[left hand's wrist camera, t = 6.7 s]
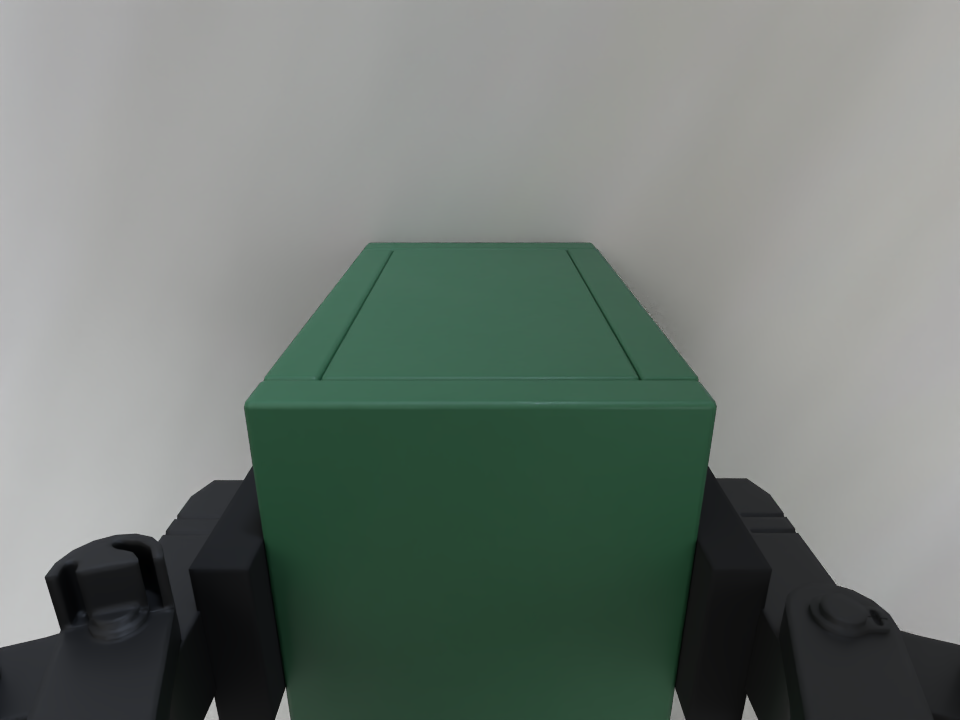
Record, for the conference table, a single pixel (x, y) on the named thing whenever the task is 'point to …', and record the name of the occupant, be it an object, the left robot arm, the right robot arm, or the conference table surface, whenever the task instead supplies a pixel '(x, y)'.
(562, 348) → the cabinet
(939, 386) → the conference table surface
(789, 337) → the conference table surface
